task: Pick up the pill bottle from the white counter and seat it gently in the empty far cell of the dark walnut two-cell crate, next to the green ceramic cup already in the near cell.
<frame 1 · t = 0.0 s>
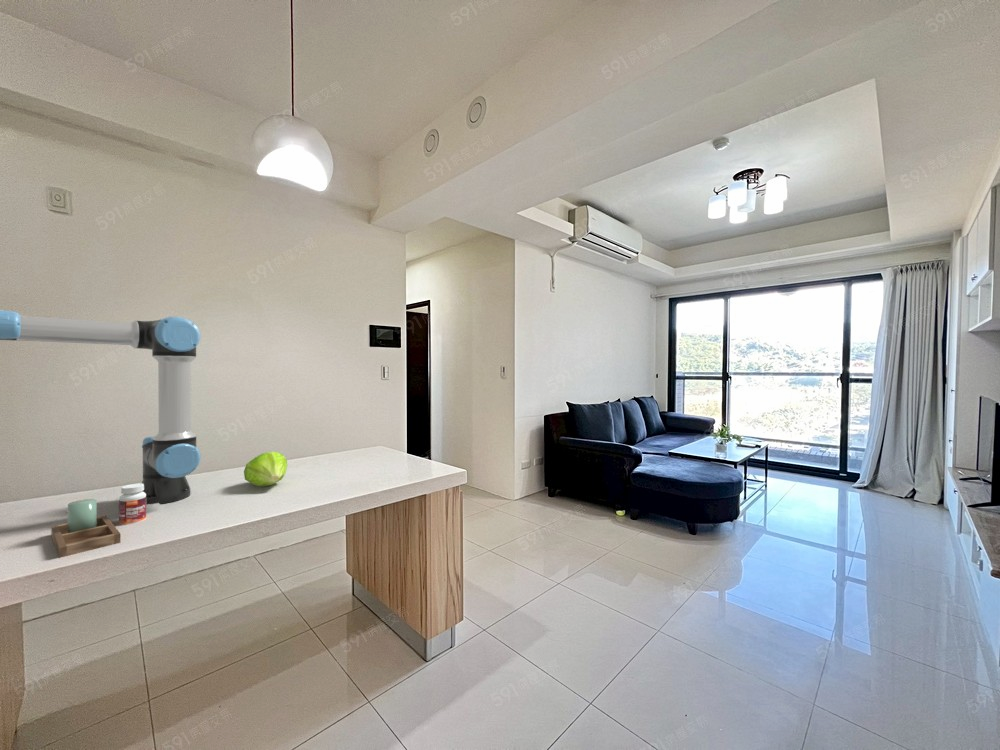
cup: (82, 533, 112), point 1 cm above the table, touching crate
crate: (85, 540, 109), on the table
pill bottle: (132, 523, 122), on the table
lettuce: (267, 486, 161), on the table
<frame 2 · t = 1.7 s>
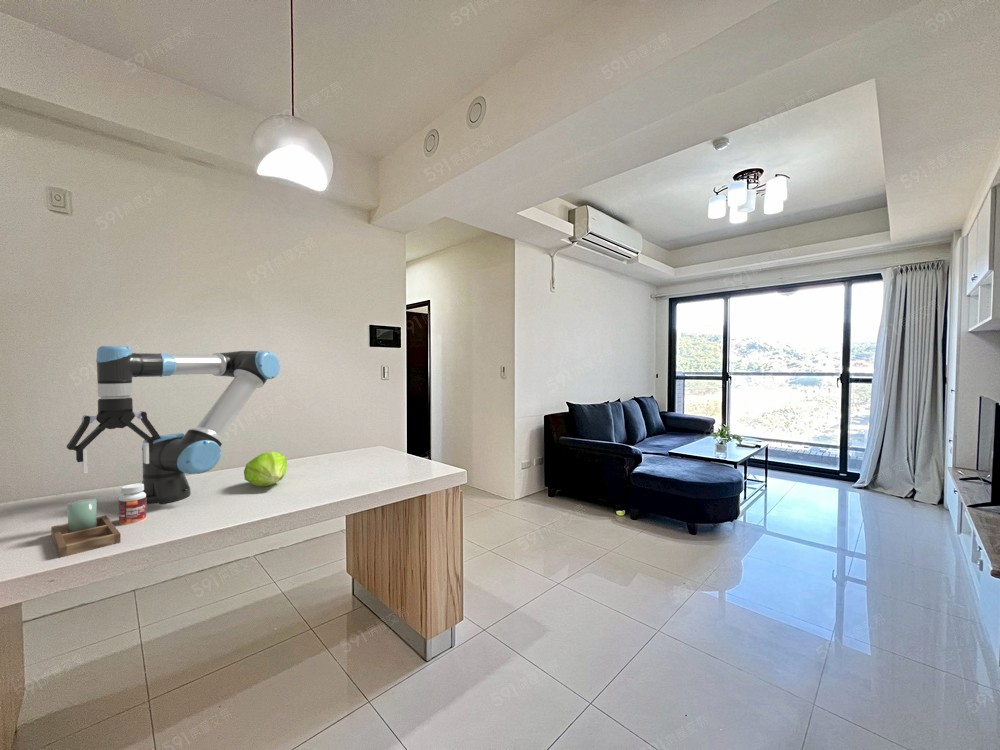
hand: (117, 467, 120), 17 cm above the table, fingers open, 13 cm apart
nothing on the table moved.
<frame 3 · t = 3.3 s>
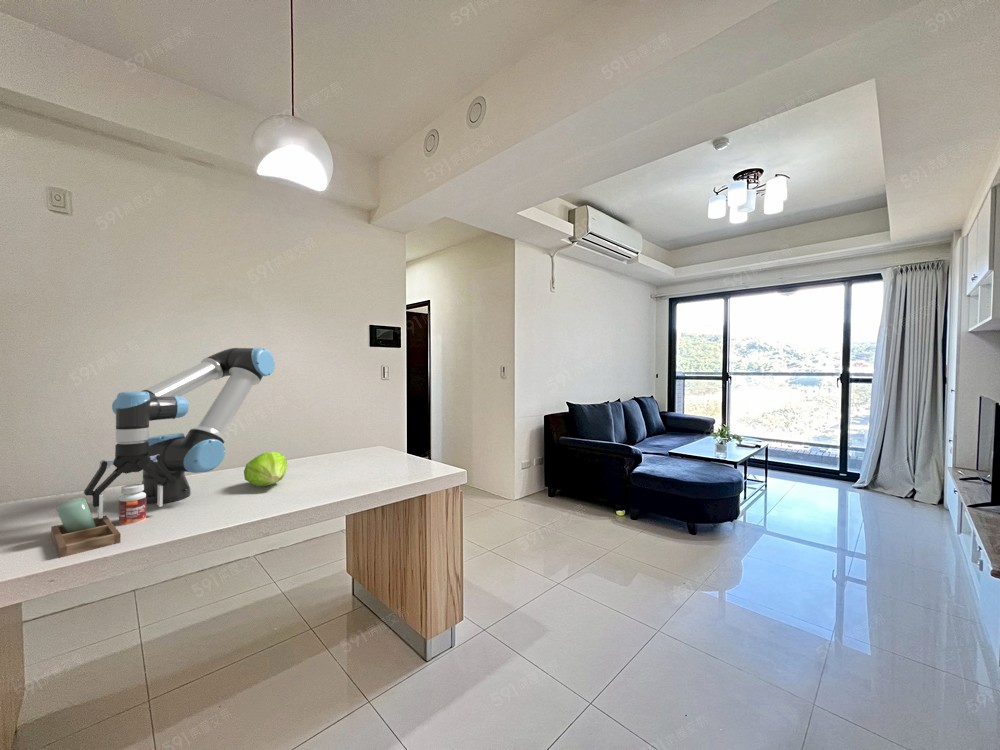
hand: (131, 511, 122), 4 cm above the table, fingers open, 13 cm apart
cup: (82, 531, 112), point 1 cm above the table, tilted 18°, touching crate
everything else where it was.
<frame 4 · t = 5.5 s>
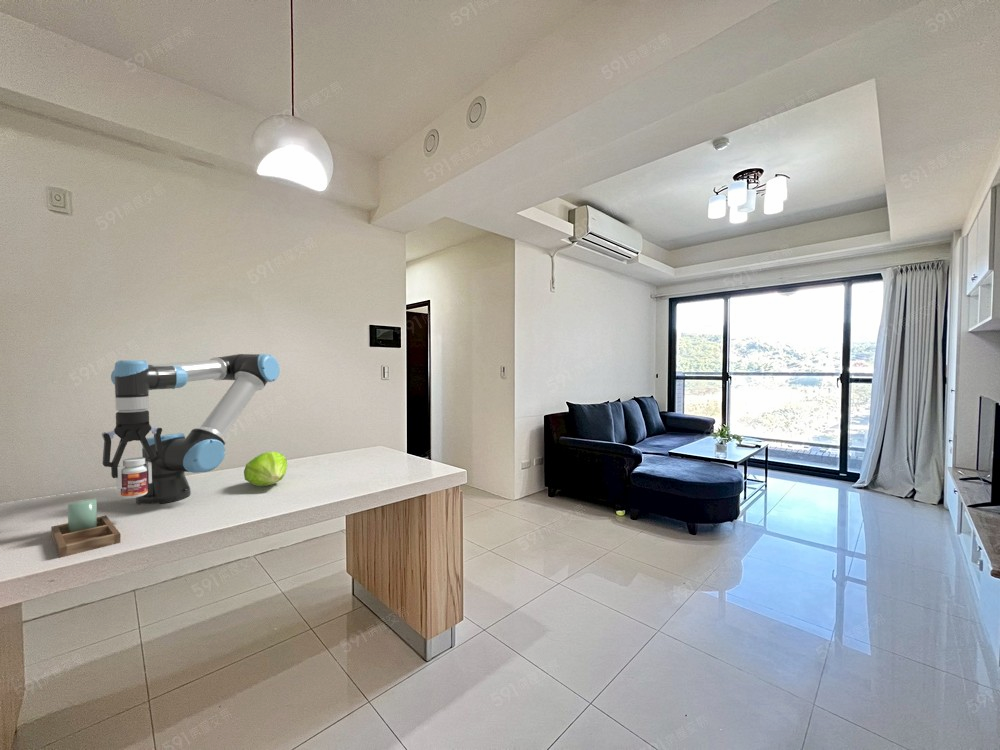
hand: (134, 484, 123), 11 cm above the table, fingers closed on pill bottle, 6 cm apart
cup: (82, 533, 112), point 1 cm above the table, touching crate
pill bottle: (134, 496, 123), point 8 cm above the table, touching gripper
everything else where it was.
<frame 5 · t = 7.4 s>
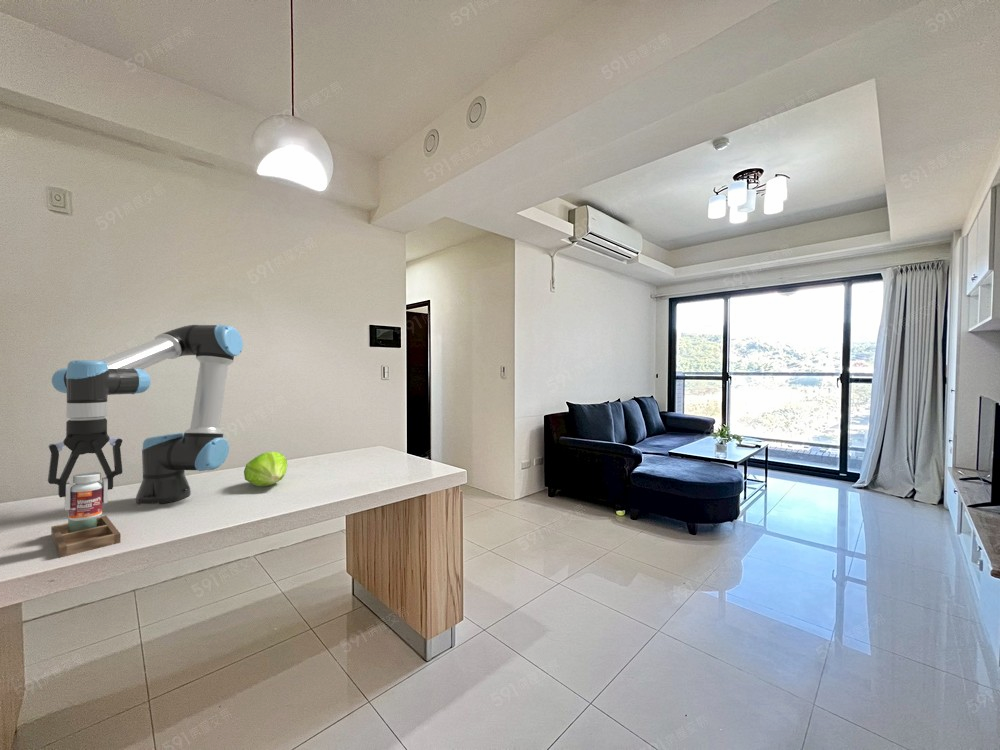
hand: (86, 505, 106), 11 cm above the table, fingers closed on pill bottle, 6 cm apart
pill bottle: (85, 518, 106), point 8 cm above the table, touching gripper
everything else where it was.
when the fingers open (4 cm above the table, at t = 9.3 s): pill bottle stays where it is, resting on crate.
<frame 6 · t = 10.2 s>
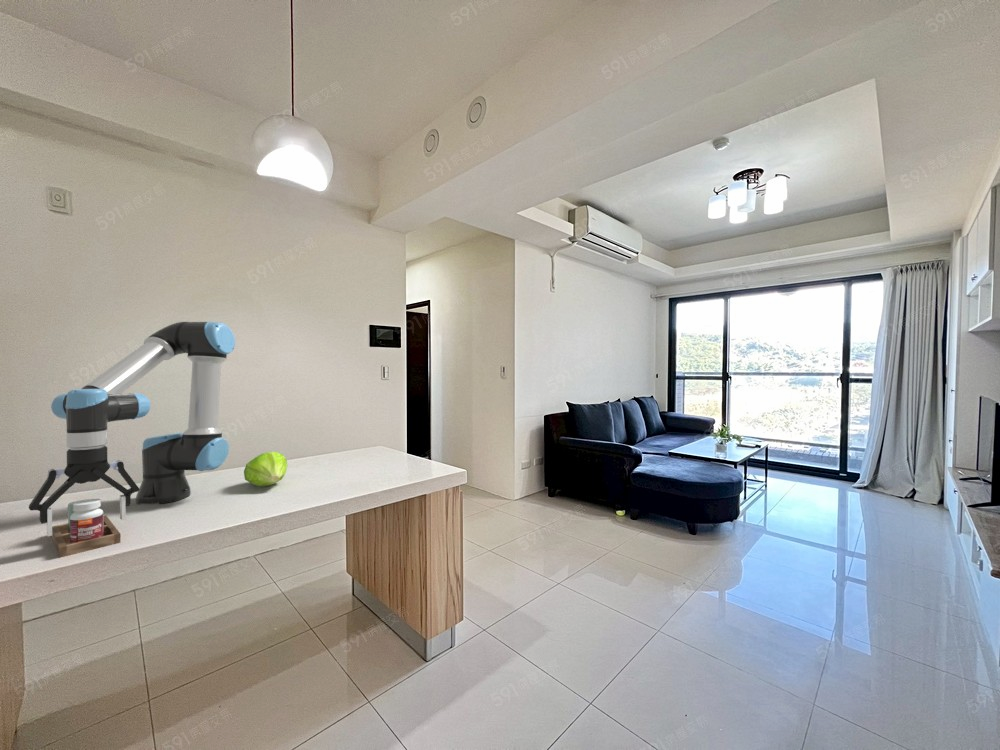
hand: (87, 526, 106), 5 cm above the table, fingers open, 13 cm apart
pill bottle: (87, 544, 106), resting on crate
everything else where it was.
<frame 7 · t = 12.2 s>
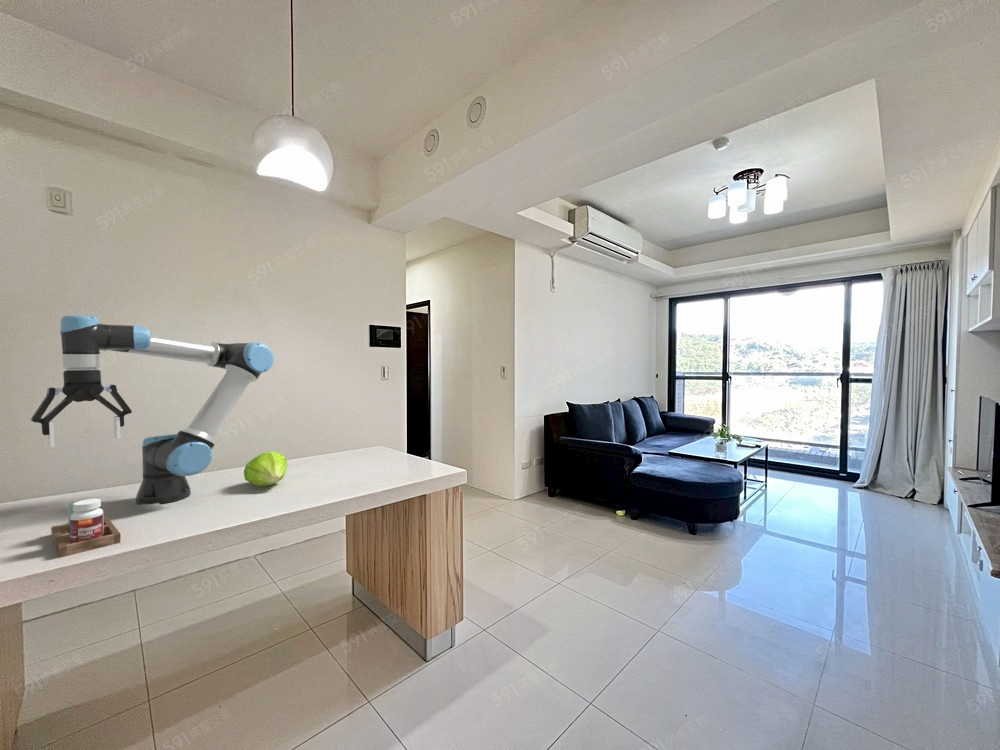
hand: (86, 442, 116), 26 cm above the table, fingers open, 13 cm apart
nothing on the table moved.
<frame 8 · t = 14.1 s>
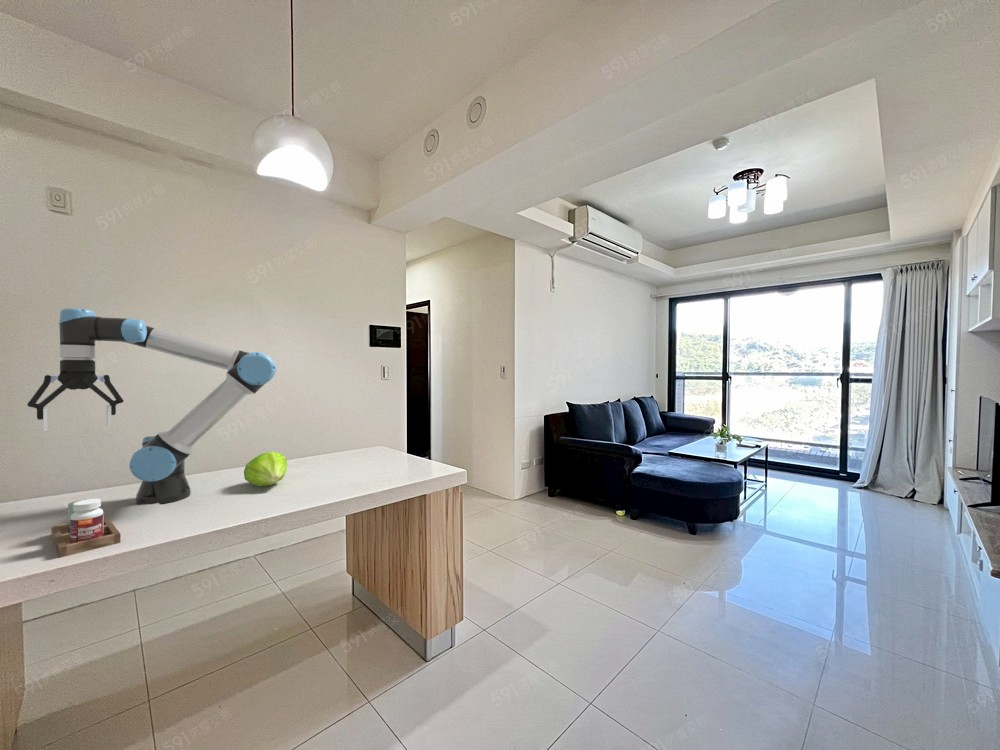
hand: (78, 428, 123), 29 cm above the table, fingers open, 13 cm apart
nothing on the table moved.
at the end: pill bottle 0.1 cm from the target spot on the crate, point 0.4 cm above the crate's base; pill bottle tilted 0°; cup moved 0.1 cm from its start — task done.
